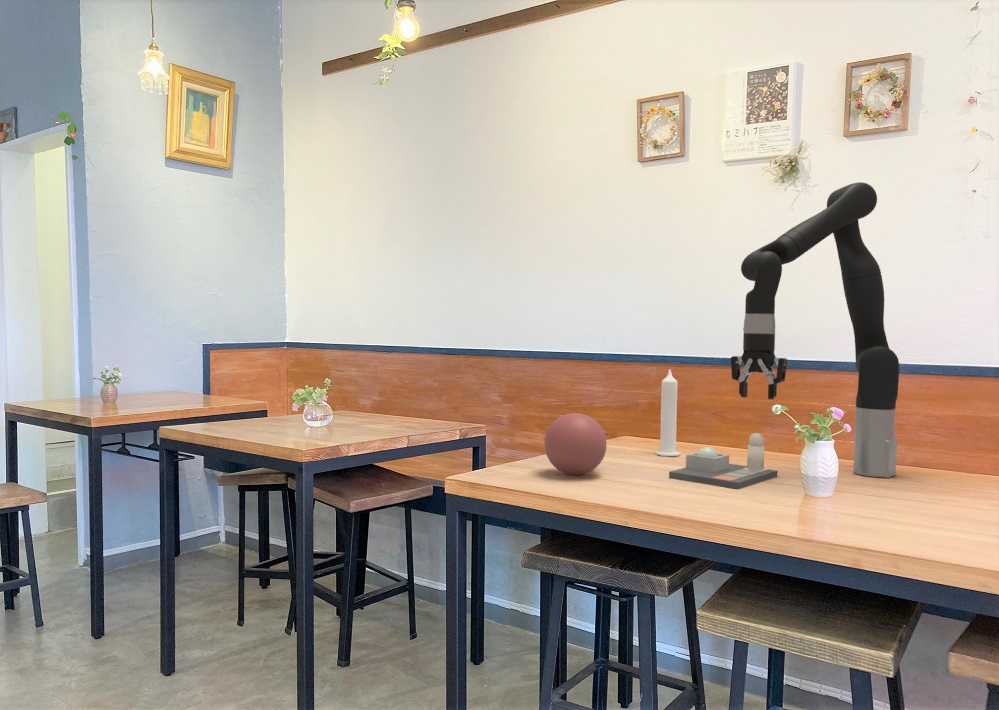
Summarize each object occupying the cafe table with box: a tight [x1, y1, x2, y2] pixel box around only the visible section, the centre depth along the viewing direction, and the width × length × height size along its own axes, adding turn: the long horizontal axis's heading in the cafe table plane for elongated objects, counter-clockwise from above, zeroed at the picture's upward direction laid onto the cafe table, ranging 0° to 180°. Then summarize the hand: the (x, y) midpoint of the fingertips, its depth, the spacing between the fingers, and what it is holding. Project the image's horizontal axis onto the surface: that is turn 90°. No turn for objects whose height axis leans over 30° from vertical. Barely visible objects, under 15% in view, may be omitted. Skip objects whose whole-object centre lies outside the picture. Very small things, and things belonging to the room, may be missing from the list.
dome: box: [697, 446, 719, 458], centre depth 192 cm, size 5×5×5 cm
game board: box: [668, 451, 778, 490], centre depth 189 cm, size 18×22×5 cm
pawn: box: [746, 432, 765, 471], centre depth 192 cm, size 4×4×9 cm
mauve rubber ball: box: [543, 412, 609, 476], centre depth 190 cm, size 15×20×15 cm
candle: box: [655, 369, 681, 457], centre depth 221 cm, size 7×7×25 cm
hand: (757, 398), depth 191 cm, fingers open, 6 cm apart
